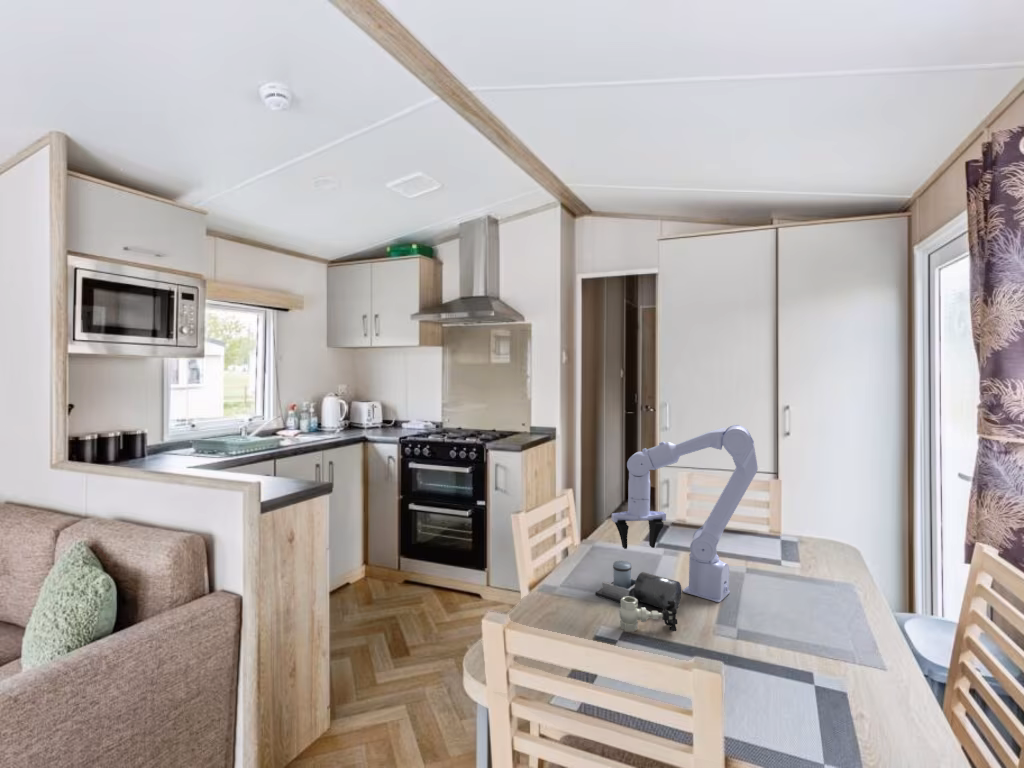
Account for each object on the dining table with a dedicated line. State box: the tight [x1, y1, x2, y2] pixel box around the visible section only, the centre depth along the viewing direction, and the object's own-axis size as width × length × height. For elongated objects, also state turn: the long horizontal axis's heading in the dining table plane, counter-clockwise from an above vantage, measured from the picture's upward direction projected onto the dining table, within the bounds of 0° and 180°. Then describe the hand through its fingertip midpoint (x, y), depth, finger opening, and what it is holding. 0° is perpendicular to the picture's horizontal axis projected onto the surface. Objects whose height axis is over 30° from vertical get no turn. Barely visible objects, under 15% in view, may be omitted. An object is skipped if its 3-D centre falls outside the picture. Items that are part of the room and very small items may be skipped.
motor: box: [595, 571, 683, 610], centre depth 137 cm, size 19×10×7 cm, turn 50°
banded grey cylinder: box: [612, 560, 632, 589], centre depth 140 cm, size 5×5×7 cm
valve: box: [619, 596, 678, 633], centre depth 122 cm, size 7×7×12 cm
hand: (638, 547), depth 148 cm, fingers open, 7 cm apart
